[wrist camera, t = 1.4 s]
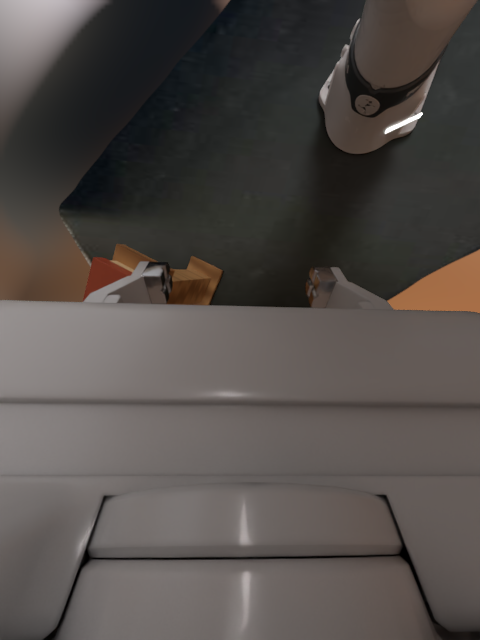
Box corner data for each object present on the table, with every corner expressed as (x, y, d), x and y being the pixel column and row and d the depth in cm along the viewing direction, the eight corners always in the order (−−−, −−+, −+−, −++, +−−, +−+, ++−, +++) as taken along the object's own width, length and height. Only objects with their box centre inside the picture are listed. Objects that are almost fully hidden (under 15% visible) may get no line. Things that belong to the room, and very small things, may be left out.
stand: (193, 256, 56) (116, 243, 31) (223, 270, 55) (169, 270, 30) (177, 298, 59) (96, 318, 34) (205, 313, 58) (143, 344, 33)
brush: (115, 258, 31) (93, 257, 28) (219, 311, 30) (209, 317, 26) (102, 308, 33) (79, 313, 30) (197, 360, 32) (185, 372, 28)
